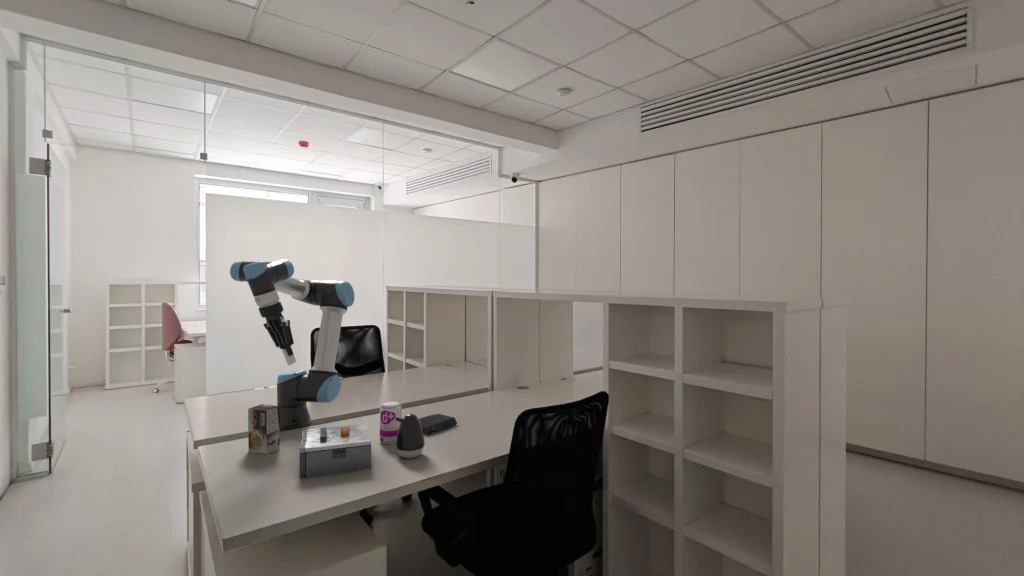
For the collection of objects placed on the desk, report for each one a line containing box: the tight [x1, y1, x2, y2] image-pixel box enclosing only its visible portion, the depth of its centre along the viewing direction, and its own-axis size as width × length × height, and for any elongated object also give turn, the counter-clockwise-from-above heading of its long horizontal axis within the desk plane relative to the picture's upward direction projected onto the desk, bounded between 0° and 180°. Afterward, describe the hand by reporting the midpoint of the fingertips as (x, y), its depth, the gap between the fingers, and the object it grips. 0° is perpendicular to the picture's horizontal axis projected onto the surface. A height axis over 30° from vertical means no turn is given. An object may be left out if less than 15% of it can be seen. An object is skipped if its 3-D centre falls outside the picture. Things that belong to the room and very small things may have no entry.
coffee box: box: [247, 404, 281, 455], centre depth 172 cm, size 9×6×16 cm
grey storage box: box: [305, 444, 372, 478], centre depth 161 cm, size 20×24×8 cm
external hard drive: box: [418, 413, 458, 437], centre depth 201 cm, size 13×19×4 cm
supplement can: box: [379, 400, 402, 445], centre depth 183 cm, size 8×8×15 cm
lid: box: [299, 423, 372, 478], centre depth 161 cm, size 22×20×11 cm
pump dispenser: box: [395, 413, 426, 459], centre depth 168 cm, size 10×10×15 cm
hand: (292, 363), depth 172 cm, fingers closed
